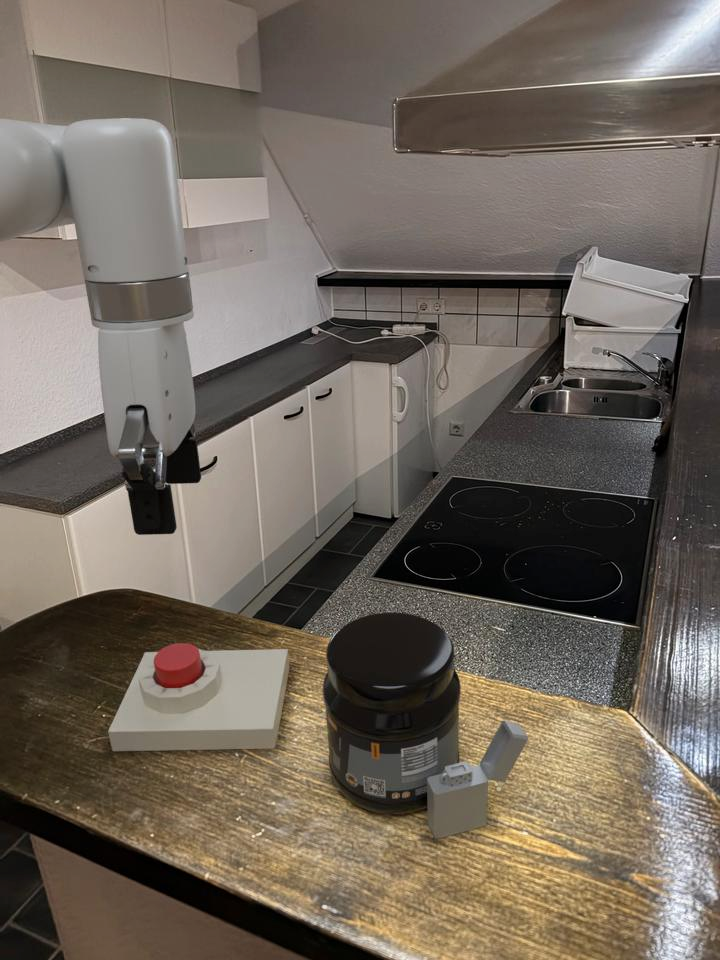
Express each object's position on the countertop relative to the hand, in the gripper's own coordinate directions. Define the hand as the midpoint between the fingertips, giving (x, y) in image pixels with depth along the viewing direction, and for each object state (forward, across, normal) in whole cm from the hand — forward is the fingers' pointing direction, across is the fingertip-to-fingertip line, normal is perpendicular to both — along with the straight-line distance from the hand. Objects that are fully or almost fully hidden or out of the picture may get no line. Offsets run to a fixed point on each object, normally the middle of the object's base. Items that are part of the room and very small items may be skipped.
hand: (170, 505), depth 64 cm
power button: (+16, +2, -1) cm, 16 cm away
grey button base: (+19, +2, +1) cm, 19 cm away
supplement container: (+19, +11, +18) cm, 29 cm away
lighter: (+19, +16, +24) cm, 35 cm away
